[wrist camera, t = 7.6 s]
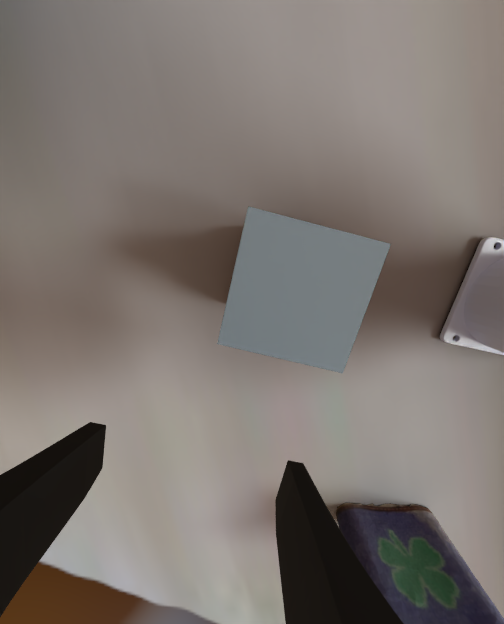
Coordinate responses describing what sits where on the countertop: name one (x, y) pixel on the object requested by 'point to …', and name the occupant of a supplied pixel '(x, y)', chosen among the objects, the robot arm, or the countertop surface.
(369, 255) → the slate block
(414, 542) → the flask
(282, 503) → the robot arm
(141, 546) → the countertop surface
